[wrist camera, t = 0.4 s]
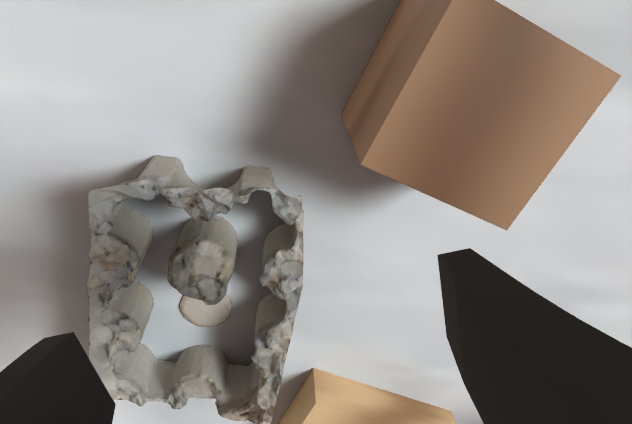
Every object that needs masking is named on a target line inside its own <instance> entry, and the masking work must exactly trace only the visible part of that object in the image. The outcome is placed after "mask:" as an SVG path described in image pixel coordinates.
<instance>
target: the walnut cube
mask: <svg viewBox="0 0 632 424" xmlns="http://www.w3.org/2000/svg"><path fill="white" fill-rule="evenodd" d="M620 77H621V75H619V74H618V73H616V72H614V71H613V70H611V69H609V68H608V67H606V66H604V65H602V64H601V63H599V62H597V61H596V60H594V59H592V58H591V57H589V56H587V55H586V54H584V53H582V52H581V51H579V50H577V49H576V48H574V47H572V46H571V45H569V44H567V43H565V42H564V41H562V40H560V39H559V38H557V37H555V36H554V35H552V34H550V33H549V32H547V31H545V30H544V29H542V28H540V27H539V26H537V25H535V24H534V23H532V22H530V21H528V20H527V19H525V18H523V17H522V16H520V15H518V14H517V13H515V12H513V11H512V10H510V9H508V8H507V7H505V6H503V5H502V4H500V3H498V2H497V1H495V0H400V2H399V4H398V6H397V7H396V9H395V11H394V13H393V15H392V17H391V19H390V21H389V23H388V25H387V27H386V29H385V31H384V33H383V35H382V37H381V39H380V40H379V42H378V44H377V46H376V48H375V50H374V52H373V54H372V56H371V58H370V60H369V62H368V64H367V66H366V68H365V70H364V71H363V73H362V75H361V77H360V79H359V81H358V83H357V85H356V87H355V89H354V91H353V93H352V95H351V97H350V99H349V101H348V103H347V104H346V106H345V108H344V110H343V112H342V114H341V118H342V120H343V123H344V125H345V128H346V130H347V133H348V135H349V138H350V140H351V143H352V145H353V147H354V150H355V152H356V155H357V157H358V160H359V162H360V165H362V166H364V167H367V168H369V169H371V170H373V171H376V172H378V173H380V174H382V175H384V176H387V177H389V178H391V179H393V180H396V181H398V182H400V183H402V184H405V185H407V186H409V187H411V188H413V189H416V190H418V191H420V192H422V193H425V194H427V195H429V196H431V197H434V198H436V199H438V200H440V201H442V202H445V203H447V204H449V205H451V206H454V207H456V208H458V209H460V210H463V211H465V212H467V213H469V214H471V215H474V216H476V217H478V218H480V219H483V220H485V221H487V222H489V223H491V224H494V225H496V226H498V227H500V228H503V229H505V230H507V229H508V228H509V227H510V225H511V224H512V223H513V221H514V220H515V219H516V217H517V216H518V215H519V213H520V212H521V210H522V209H523V208H524V206H525V205H526V204H527V202H528V201H529V200H530V198H531V197H532V196H533V194H534V193H535V192H536V190H537V189H538V187H539V186H540V185H541V183H542V182H543V181H544V179H545V178H546V177H547V175H548V174H549V173H550V171H551V170H552V169H553V167H554V166H555V165H556V163H557V162H558V160H559V159H560V158H561V156H562V155H563V154H564V152H565V151H566V150H567V148H568V147H569V146H570V144H571V143H572V142H573V140H574V139H575V138H576V136H577V135H578V133H579V132H580V131H581V129H582V128H583V127H584V125H585V124H586V123H587V121H588V120H589V119H590V117H591V116H592V115H593V113H594V112H595V111H596V109H597V108H598V106H599V105H600V104H601V102H602V101H603V100H604V98H605V97H606V96H607V94H608V93H609V92H610V90H611V89H612V88H613V86H614V85H615V84H616V82H617V81H618V79H619V78H620Z"/></svg>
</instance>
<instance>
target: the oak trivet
mask: <svg viewBox="0 0 632 424" xmlns="http://www.w3.org/2000/svg"><path fill="white" fill-rule="evenodd" d="M278 424H456V423H455V420H454V418H453V415H452V412H451V411H449V410H445V409H442V408H439V407H436V406H433V405H430V404H426V403H423V402H420V401H417V400H414V399H410V398H407V397H404V396H401V395H398V394H395V393H391V392H388V391H385V390H382V389H379V388H375V387H372V386H369V385H366V384H363V383H359V382H356V381H353V380H350V379H347V378H344V377H340V376H337V375H334V374H331V373H328V372H324V371H321V370H318V369H315V368H313V369H312V371H311V373H310V374H309V376H308V377H307V379H306V381H305V382H304V384H303V385H302V387H301V388H300V390H299V392H298V393H297V395H296V396H295V398H294V400H293V401H292V403H291V404H290V406H289V408H288V409H287V411H286V412H285V414H284V415H283V417H282V419H281V420H280V422H279V423H278Z"/></svg>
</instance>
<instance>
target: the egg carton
mask: <svg viewBox="0 0 632 424" xmlns="http://www.w3.org/2000/svg"><path fill="white" fill-rule="evenodd" d="M255 190H263V191H267V192H269V194H270V198H271V202H272V207H273V210H274V212H275V213H276V214H277V215H278V216H279V217H280V218H281V219H282V220H283V221H284V222H285V224H281V225H279V226H277V227H275V228H274V229H273V230H271V231H270V232H269V233H268V235H267V237H266V239H265V241H264V245H263V257H262V267H261V275H260V285H261V286H267V287H268V288H269V289H270V290H271V293H269V294H268V295H266V296H265V297H264V298H263V299H262V300H261V301H260V302H259V304H258V307H257V311H256V322H255V334H254V350H253V353H252V355H251V359H252V362H251V363H250V365H249V366H241V365H231V364H228V361H227V358H226V356H225V354H224V353H223V352H222V351H221V350H219V349H217V348H216V347H213V346H209V345H196V346H192V347H189V348H187V349H185V350H184V351H183V352H182V353H181V355H180V356H179V358H178V361H175V362H171V361H163V360H158V359H156V358H155V357H154V355H153V353H152V351H151V350H150V349H149V348H148V347H147V346H146V345H144V344H142V343H140V341H141V339H142V336H143V333H144V330H145V327H146V325H147V323H148V320H149V317H150V314H151V311H152V308H153V306H154V301H153V297H152V294H151V292H150V291H149V290H148V288H147V287H146V286H144V285H143V284H141V283H140V282H138V281H135V280H134V279H135V276H136V274H137V272H138V270H139V267H140V265H141V263H142V261H143V259H144V257H145V255H146V253H147V250H148V248H149V246H150V245H151V242H152V238H153V228H152V225H151V223H150V221H149V220H148V219H147V218H146V216H144V215H143V214H142V213H140V212H139V211H138V210H136V209H134V208H132V207H129V206H126V205H124V204H123V203H122V201H124V200H126V199H127V198H128V197H131V198H137V199H141V200H145V201H150V200H153V199H155V198H156V197H157V196H158V195H159V194H162V195H163V196H165V199H166V202H167V204H168V205H169V206H172V207H178V208H183V209H184V210H185V211H186V212H187V213H188V214H189V215H190V216H191V217H192V218H193V219H191V220H190V221H188V222H187V223H186V224H185V225H184V227H183V229H182V231H181V233H180V235H179V238H178V240H177V242H176V245H175V248H174V250H173V252H172V254H171V256H170V258H169V269H168V276H167V277H168V282H169V283H170V285H171V286H172V287H173V288H175V289H177V290H178V291H179V293H181V294H182V295H183V297H182V299H181V302H180V311H181V313H182V314H183V316H184V318H185V319H187V320H188V321H189V322H191V323H193V324H195V325H197V326H202V327H213V326H214V325H218V324H220V323H223V322H224V321H225V320H226V319H227V318H228V317H229V316H230V313H231V311H232V302H231V299H230V297H229V296H228V295H227V293H226V292H227V284H228V282H229V280H230V278H231V276H232V274H233V269H234V265H235V256H236V251H237V241H238V238H237V233H236V231H235V229H234V227H233V225H231V223H229V222H228V221H227V220H225V219H224V218H221V217H219V216H216V215H217V214H219V213H224V214H226V213H228V212H230V210H231V208H232V207H233V205H234V203H235V202H238V203H241V204H245V203H248V201H249V198H250V195H251V192H253V191H255ZM88 215H89V230H90V232H91V249H90V252H89V256H88V258H89V259H90V260H91V264H90V271H89V277H88V282H87V293H88V299H89V328H90V337H89V360H90V361H91V363H92V365H93V367H94V368H95V370H96V372H97V373H98V375H99V377H100V379H101V380H102V382H103V384H104V385H105V387H106V389H107V391H108V392H109V394H110V396H111V397H112V399H114V400H129V401H131V402H133V403H136V404H137V405H139V406H142V405H143V404H145V403H146V402H151V401H159V402H166V403H169V404H170V405H171V406H172V408H173V409H181V408H182V407H183V406H185V405H186V403H187V399H188V398H215V399H216V403H215V404H216V406H217V410H218V414H219V415H220V416H222V417H224V418H227V419H230V420H236V421H246V420H249V421H251V422H254V423H258V424H271V421H272V417H273V414H274V411H275V405H276V401H277V398H278V394H279V389H280V385H281V379H282V374H283V368H284V363H285V359H286V355H287V351H288V347H289V343H290V339H291V336H292V331H293V324H294V319H295V316H296V312H297V308H298V304H299V299H300V295H301V290H302V286H303V219H304V211H302V197H301V195H299V196H297V197H295V198H291V197H289V196H286V195H285V194H283V193H282V192H281V191H280V190H278V188H277V186H276V185H275V183H274V180H273V176H272V172H271V170H270V168H266V167H255V166H245V167H244V169H243V172H242V174H241V176H240V178H239V179H238V181H237V182H236V183H235V184H233V185H232V186H230V187H228V188H226V189H225V188H211V189H204V188H202V187H200V186H198V185H197V184H196V183H195V182H193V181H192V180H191V179H190V177H189V176H188V175H187V173H186V171H185V170H184V166H183V163H182V161H181V159H179V158H176V157H165V156H160V155H158V156H153V157H152V159H151V160H150V162H149V163H148V165H147V166H146V168H145V169H144V171H143V172H142V173H141V175H140V176H139V178H137V179H134V180H129V181H122V182H121V183H120V184H119V185H115V186H110V187H104V188H99V189H94V190H91V191H90V193H89V194H88Z"/></svg>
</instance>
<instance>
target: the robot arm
mask: <svg viewBox="0 0 632 424" xmlns="http://www.w3.org/2000/svg"><path fill="white" fill-rule="evenodd" d="M438 263H439V272H440V280H441V289H442V298H443V307H444V316H445V325H446V334H447V339H448V341H449V344H450V347H451V350H452V352H453V355H454V358H455V361H456V363H457V366H458V369H459V371H460V374H461V377H462V379H463V382H464V384H465V387H466V389H467V391H468V393H469V395H470V397H471V399H472V401H473V403H474V405H475V407H476V409H477V411H478V413H479V415H480V417H481V419H482V421H483V423H484V424H632V348H631V347H629V346H627V345H625V344H623V343H621V342H619V341H618V340H616V339H614V338H612V337H610V336H609V335H607V334H605V333H603V332H601V331H600V330H598V329H596V328H594V327H592V326H590V325H589V324H587V323H585V322H583V321H581V320H580V319H578V318H576V317H575V316H573V315H571V314H570V313H568V312H566V311H564V310H563V309H561V308H560V307H558V306H556V305H555V304H553V303H552V302H550V301H548V300H547V299H545V298H544V297H542V296H540V295H539V294H537V293H536V292H534V291H533V290H531V289H529V288H528V287H526V286H525V285H523V284H522V283H520V282H519V281H517V280H516V279H514V278H513V277H511V276H510V275H508V274H507V273H506V272H504V271H503V270H501V269H500V268H498V267H497V266H495V265H494V264H492V263H491V262H489V261H488V260H486V259H485V258H483V257H482V256H481V255H479V254H478V253H476V252H475V251H473V250H472V249H470V248H469V249H464V250H459V251H454V252H450V253H445V254H440V255H438ZM114 409H115V403H114V401H113V399H112V397H111V396H110V394H109V392H108V391H107V389H106V387H105V385H104V384H103V382H102V380H101V379H100V377H99V375H98V373H97V372H96V370H95V368H94V367H93V365H92V363H91V361H90V360H89V358H88V356H87V355H86V353H85V351H84V349H83V348H82V346H81V344H80V343H79V341H78V339H77V337H76V336H75V334H74V332H72V333H67V334H62V335H57V336H53V337H48V338H44V339H42V340H41V341H40V342H38V343H37V344H35V345H34V346H32V347H31V348H30V349H29V350H27V351H26V352H25V353H23V354H22V355H21V356H20V357H18V358H17V359H16V360H15V361H13V362H12V363H11V364H10V365H9V366H7V367H6V368H5V369H4V370H3V371H1V372H0V424H112V420H113V415H114Z"/></svg>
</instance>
